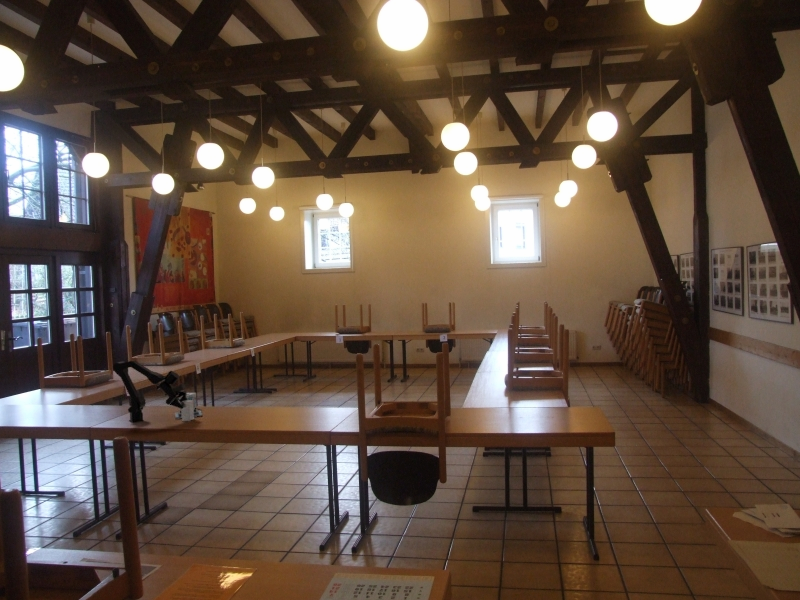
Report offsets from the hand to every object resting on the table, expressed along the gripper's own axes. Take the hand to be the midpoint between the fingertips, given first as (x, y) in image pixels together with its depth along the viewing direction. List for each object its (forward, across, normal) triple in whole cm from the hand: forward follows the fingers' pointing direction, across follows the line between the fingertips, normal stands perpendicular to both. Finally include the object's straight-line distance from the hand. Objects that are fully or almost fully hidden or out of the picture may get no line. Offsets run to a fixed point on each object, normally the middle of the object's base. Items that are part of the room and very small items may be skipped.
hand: (186, 406), depth 363 cm
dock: (+2, +14, +10) cm, 17 cm away
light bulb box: (-3, +33, +16) cm, 37 cm away
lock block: (+7, 0, +6) cm, 9 cm away
